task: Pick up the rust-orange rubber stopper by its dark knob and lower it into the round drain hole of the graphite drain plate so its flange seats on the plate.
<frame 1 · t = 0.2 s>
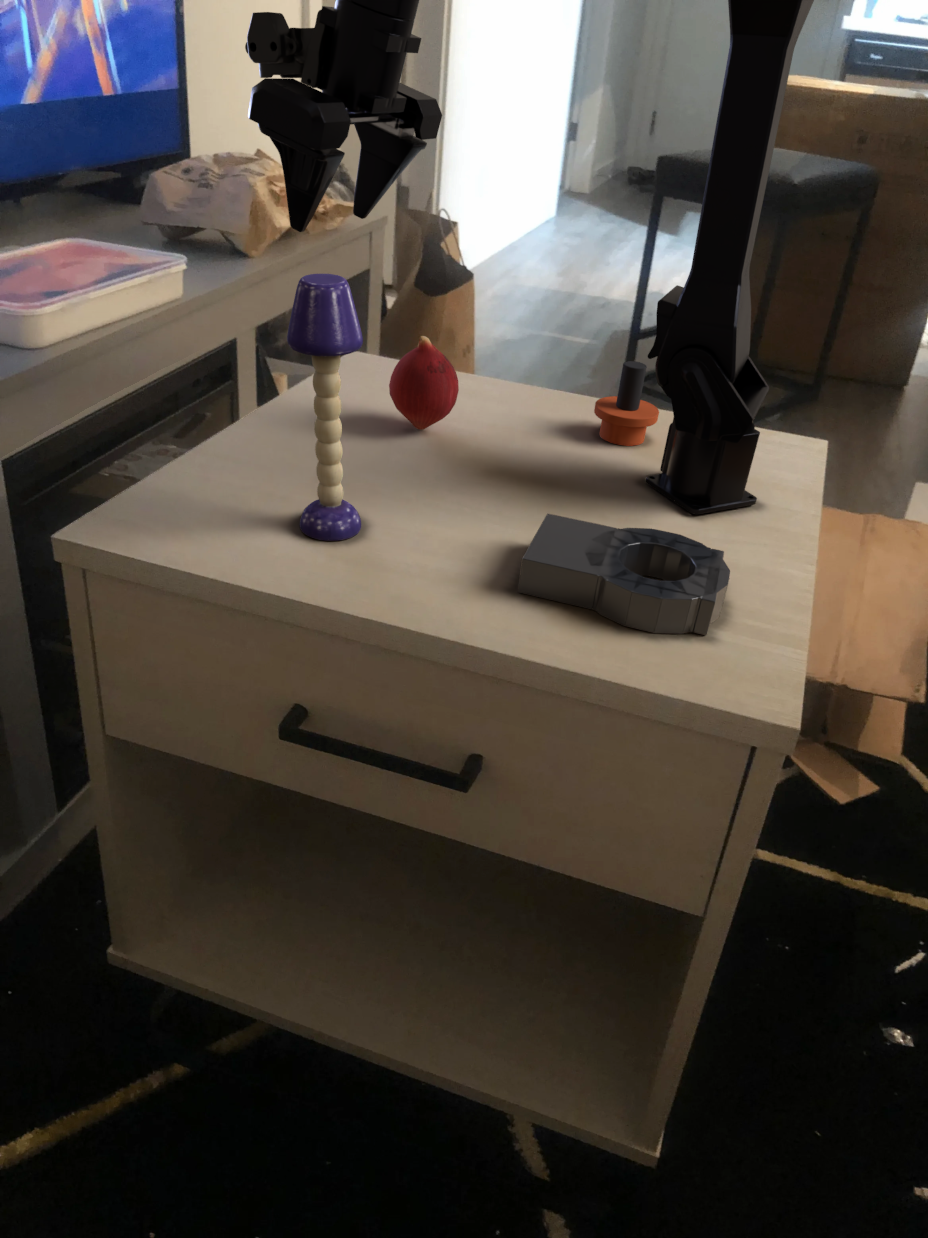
hand: (329, 223, 77), 15 cm above the table, tool pointing down, fingers open, 9 cm apart
stopper: (621, 437, 85), on the table
onion: (421, 431, 83), on the table
drain plate: (619, 587, 62), on the table
toy lamp: (325, 529, 66), on the table
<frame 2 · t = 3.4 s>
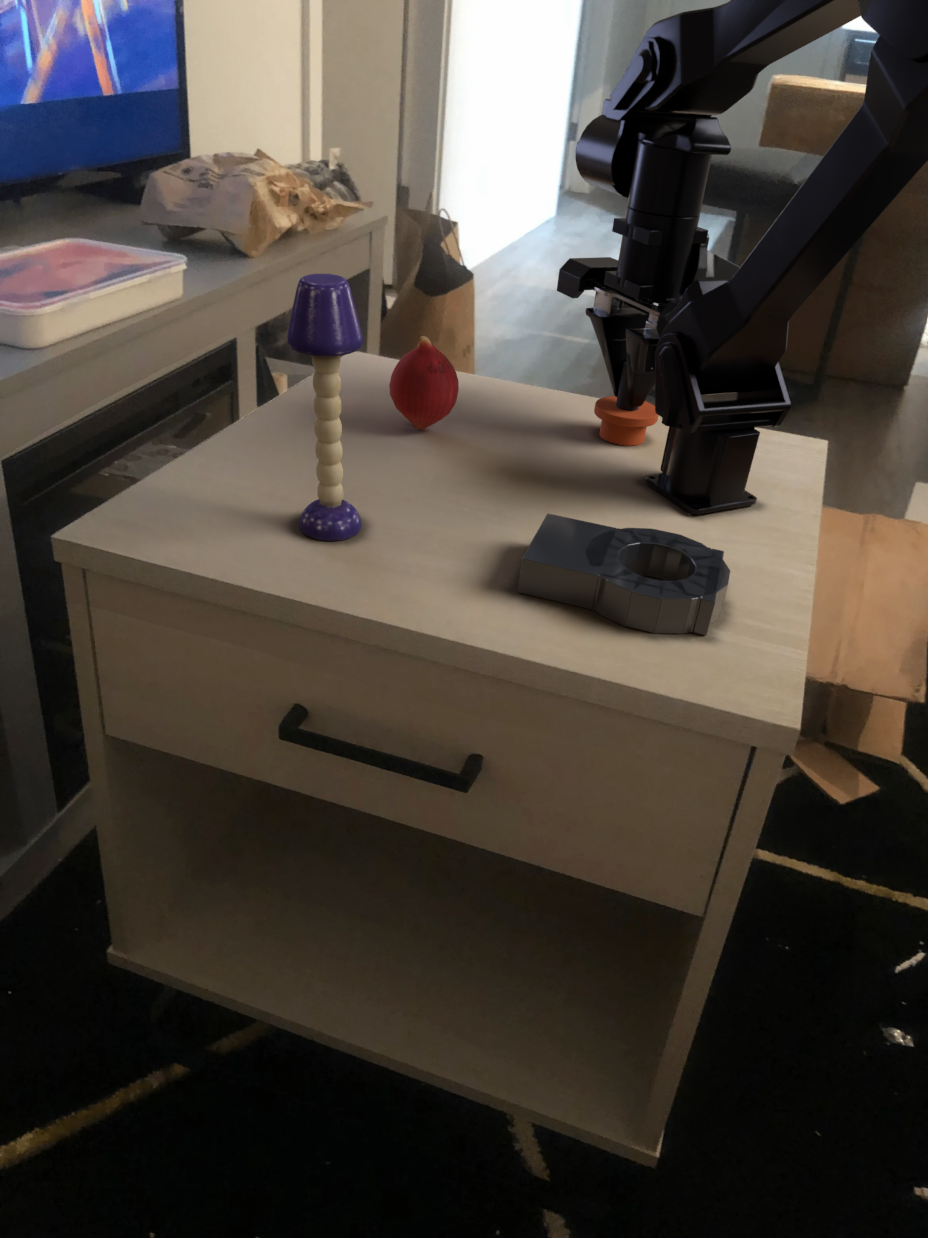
hand: (628, 401, 83), 3 cm above the table, tool pointing down, fingers closed on stopper
stopper: (621, 437, 85), on the table, touching gripper
everything else where it was.
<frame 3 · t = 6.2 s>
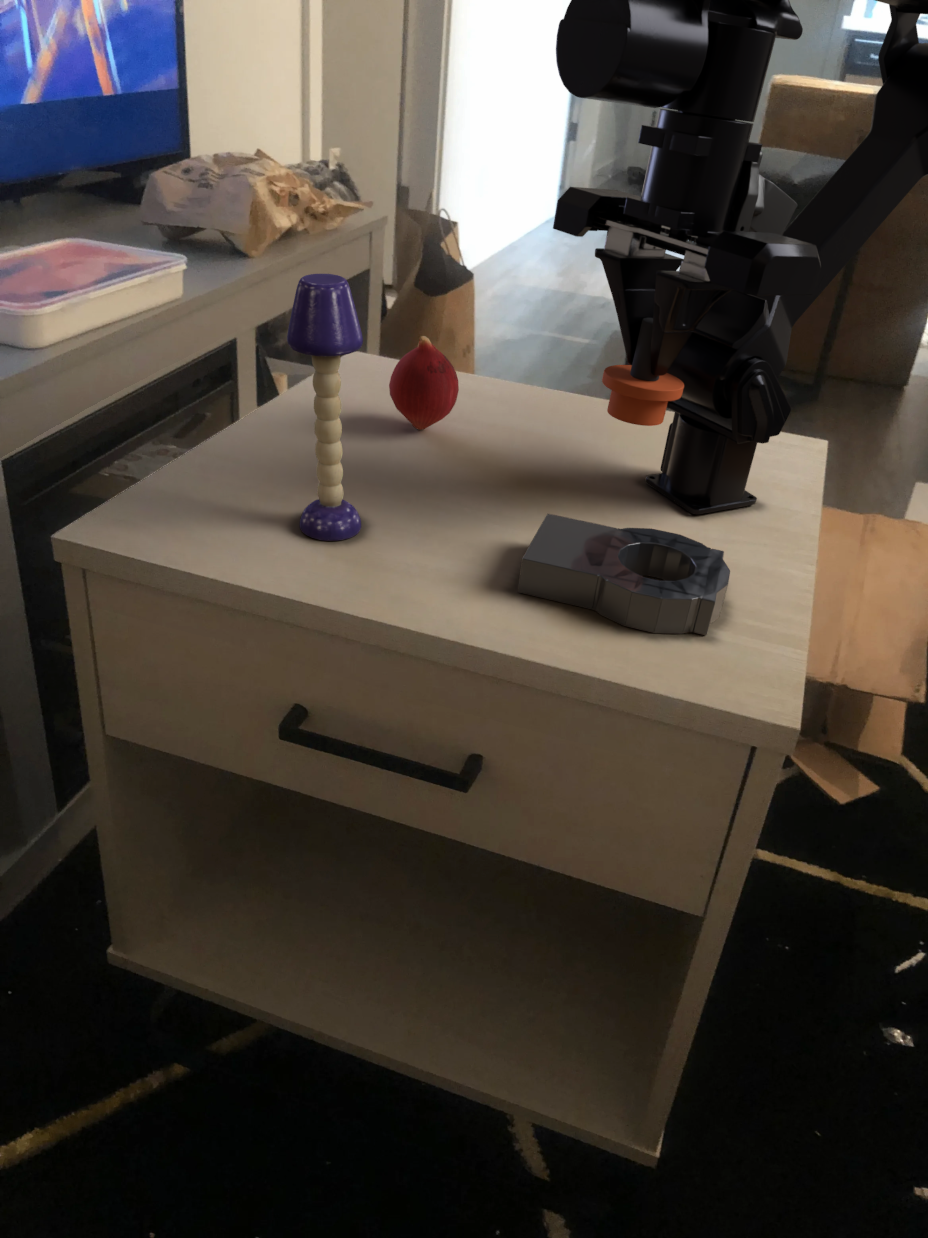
hand: (646, 369, 65), 11 cm above the table, tool pointing down, fingers closed on stopper
stopper: (635, 415, 67), point 8 cm above the table, touching gripper
everything else where it was.
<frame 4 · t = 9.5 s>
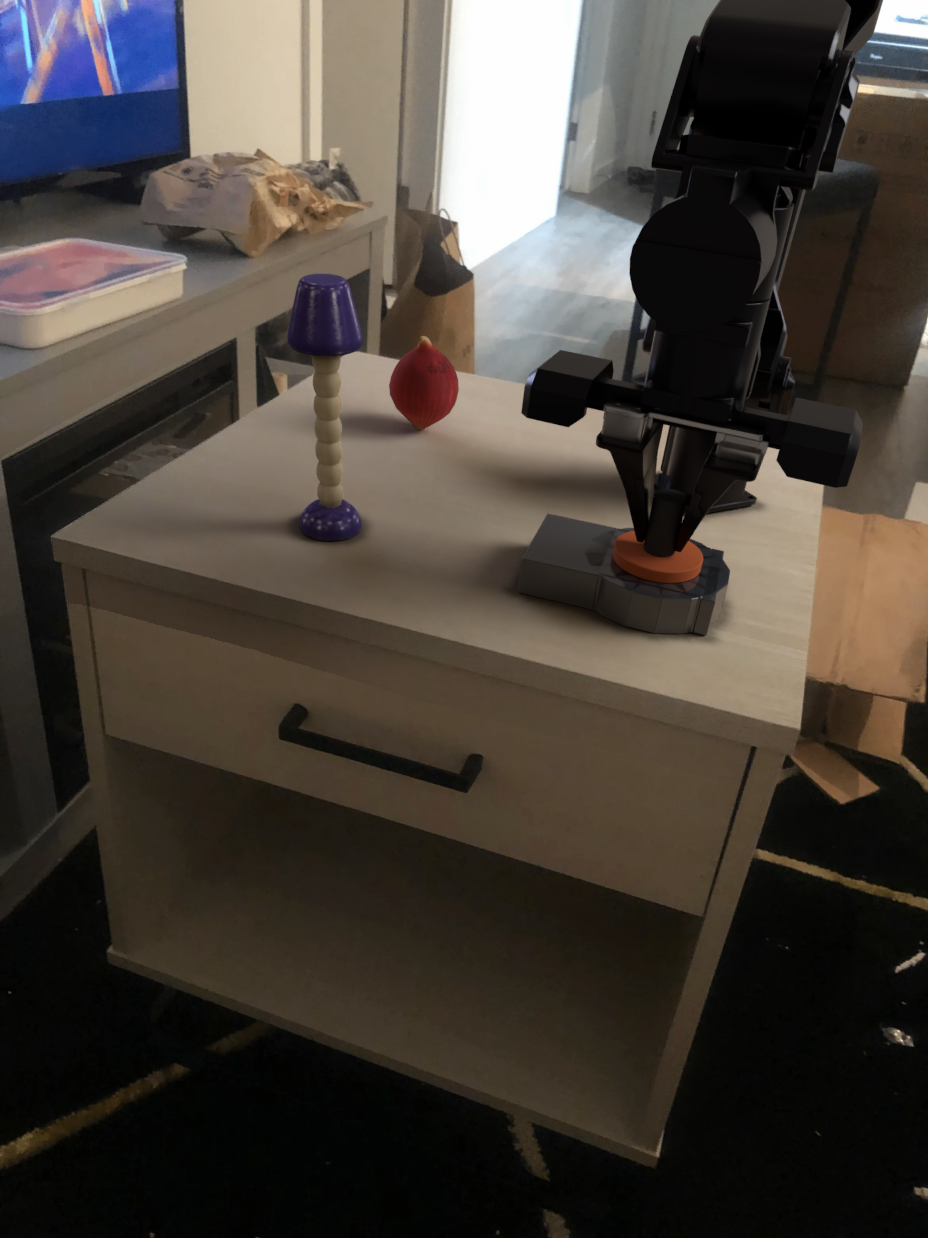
hand: (660, 544, 60), 4 cm above the table, tool pointing down, fingers closed
stopper: (650, 588, 61), resting in drain plate
everything else where it was.
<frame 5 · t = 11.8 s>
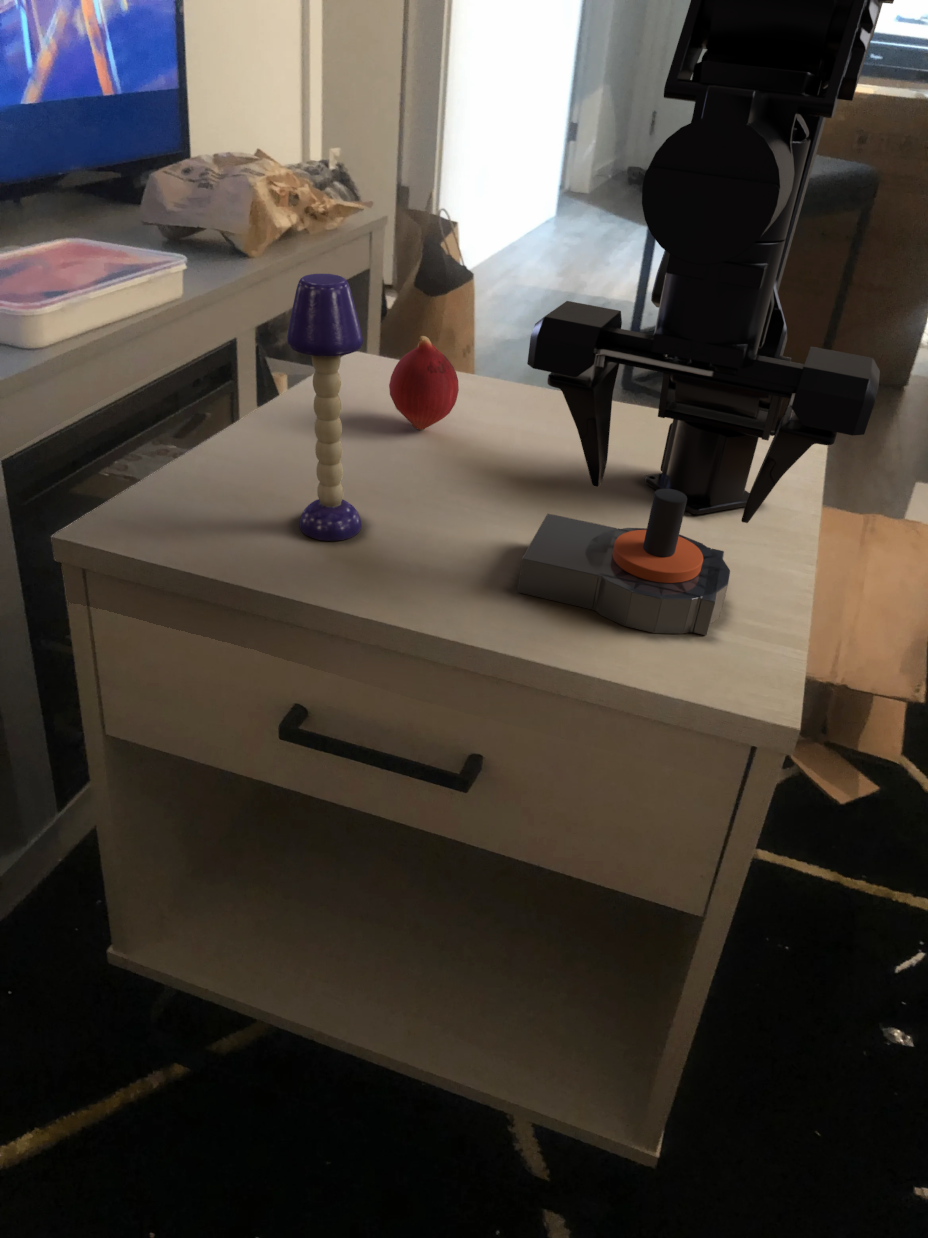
hand: (669, 501, 58), 7 cm above the table, tool pointing down, fingers open, 9 cm apart
nothing on the table moved.
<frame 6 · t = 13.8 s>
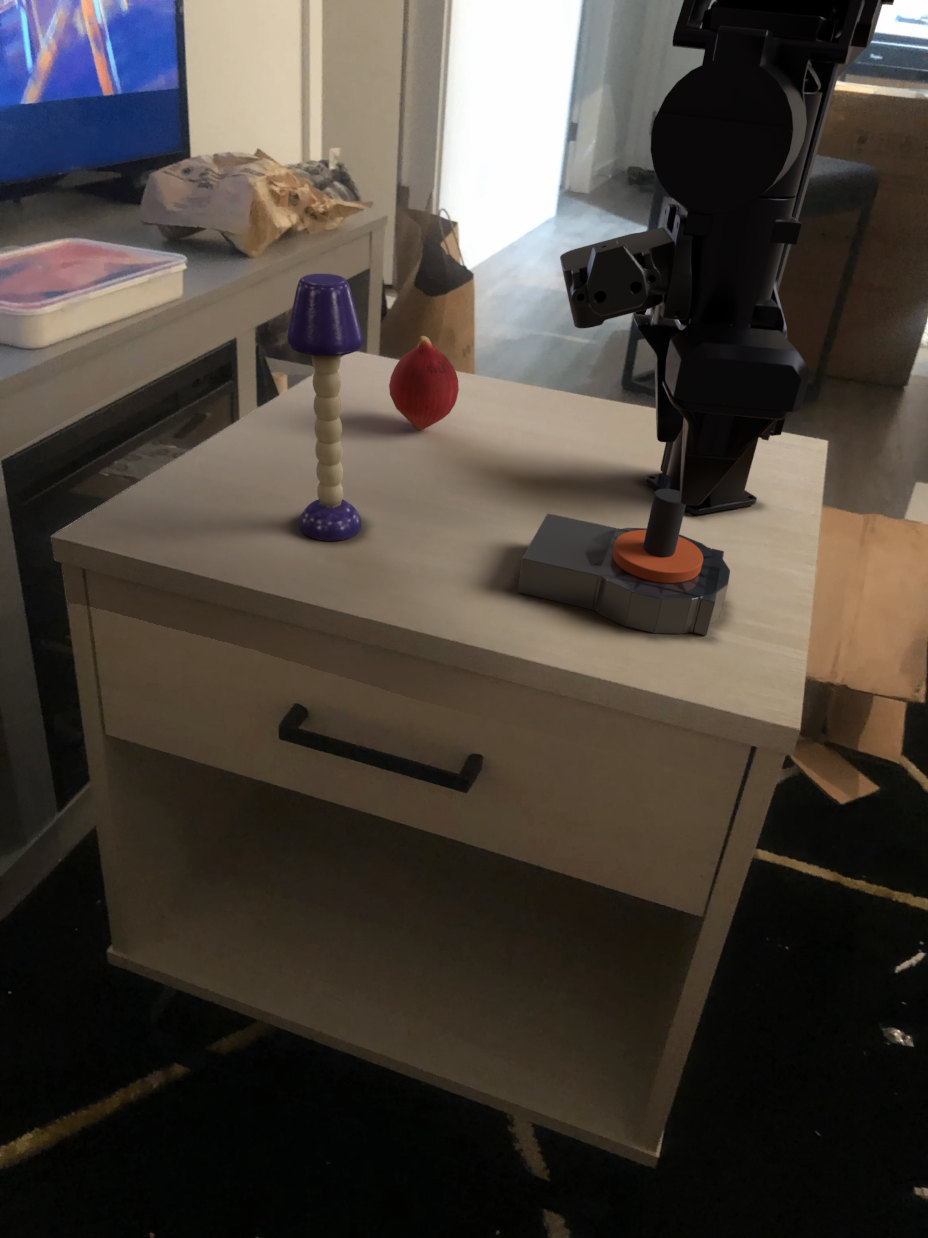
hand: (676, 470, 57), 9 cm above the table, tool pointing down, fingers open, 9 cm apart
nothing on the table moved.
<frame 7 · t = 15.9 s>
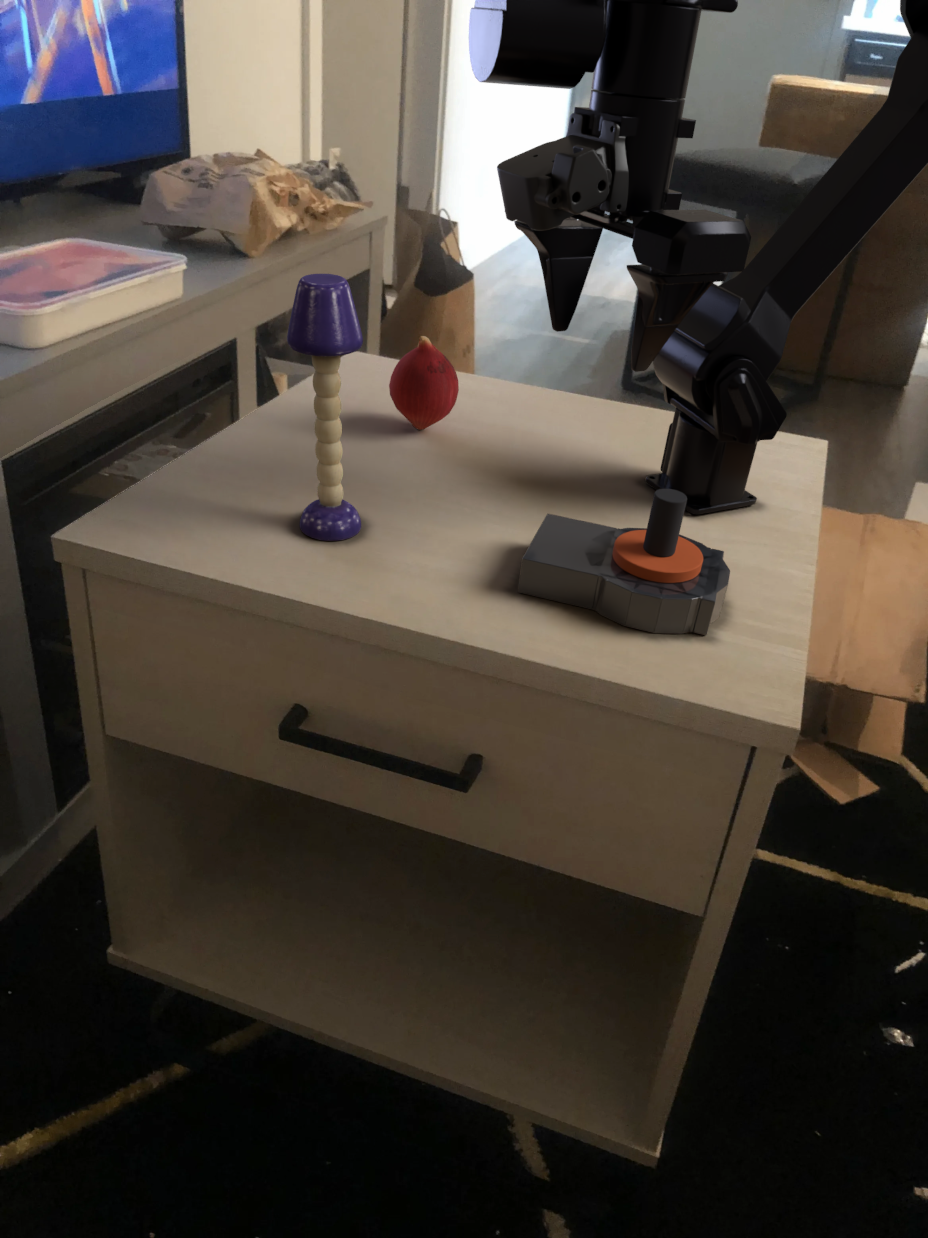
hand: (597, 349, 66), 12 cm above the table, tool pointing down, fingers open, 9 cm apart
nothing on the table moved.
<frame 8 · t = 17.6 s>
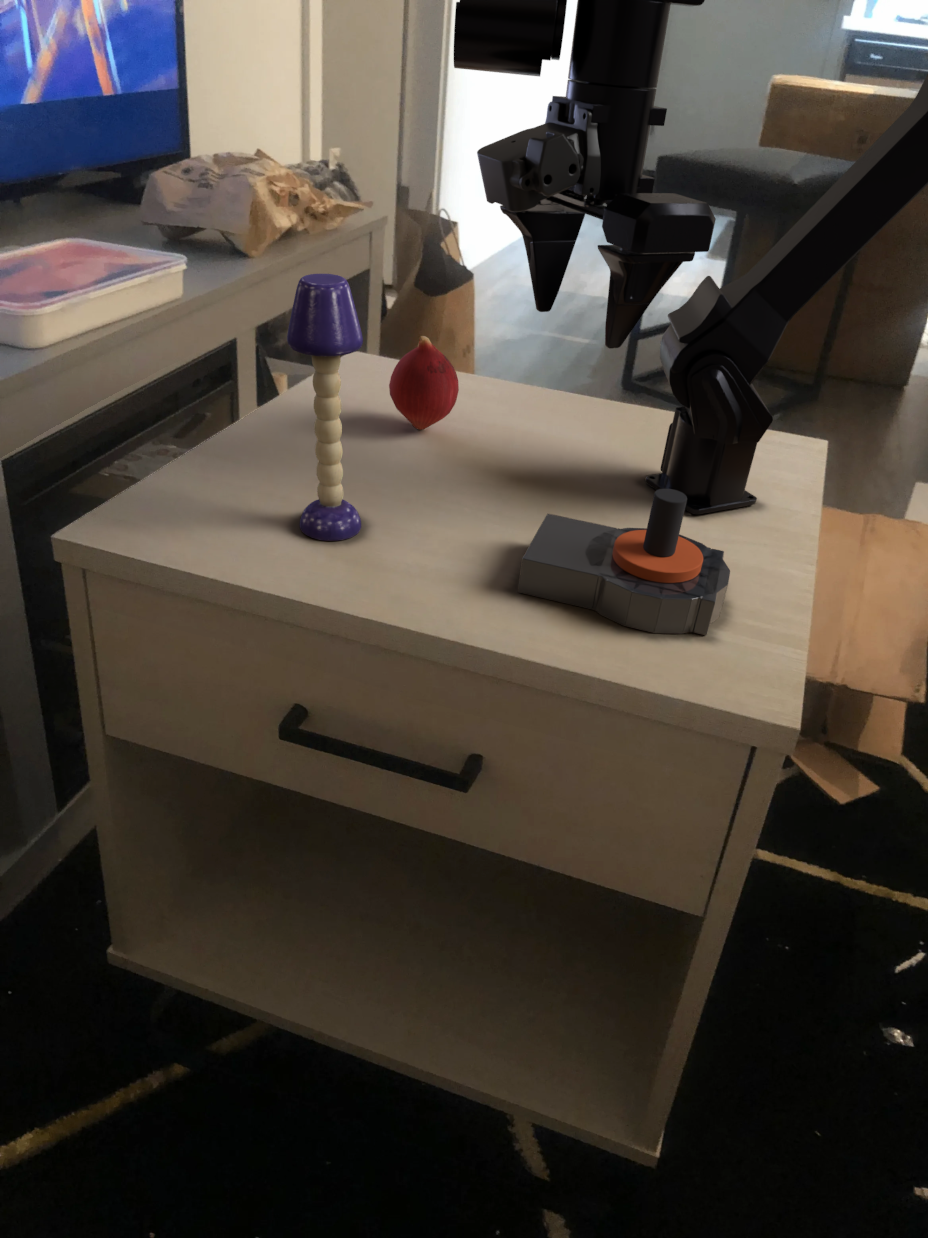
hand: (576, 328, 69), 12 cm above the table, tool pointing down, fingers open, 9 cm apart
nothing on the table moved.
at the end: stopper 0.0 cm from the target spot in the drain plate, point 0.5 cm above the drain plate's base; stopper tilted 0°; the gripper is holding nothing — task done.
